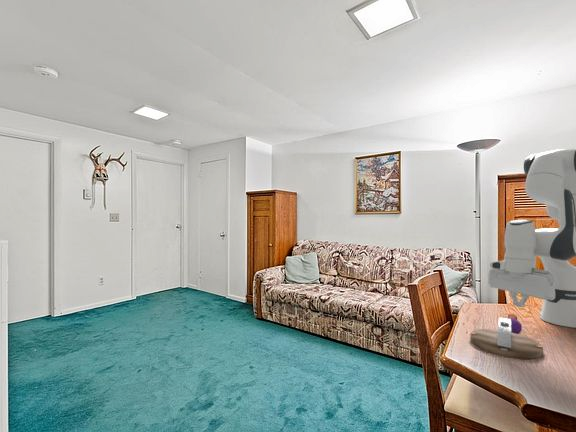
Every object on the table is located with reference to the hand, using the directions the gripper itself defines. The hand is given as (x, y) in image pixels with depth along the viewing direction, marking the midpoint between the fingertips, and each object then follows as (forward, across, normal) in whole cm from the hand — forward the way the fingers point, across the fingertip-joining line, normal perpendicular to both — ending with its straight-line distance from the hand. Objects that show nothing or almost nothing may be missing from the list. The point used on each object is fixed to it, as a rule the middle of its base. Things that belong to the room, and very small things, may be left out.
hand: (518, 306), depth 105 cm
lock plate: (+13, 0, +6) cm, 15 cm away
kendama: (+13, +11, -13) cm, 21 cm away
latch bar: (+10, 0, +7) cm, 12 cm away
